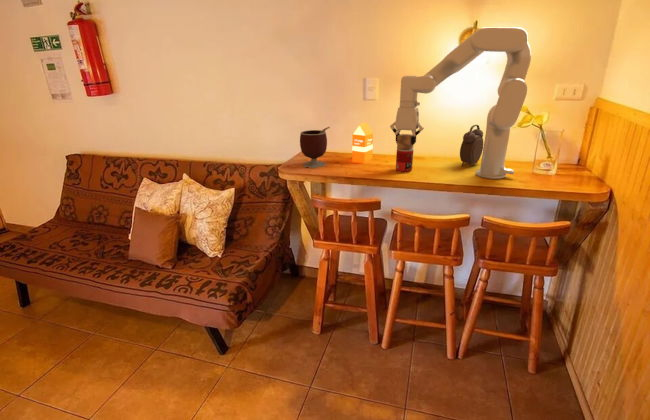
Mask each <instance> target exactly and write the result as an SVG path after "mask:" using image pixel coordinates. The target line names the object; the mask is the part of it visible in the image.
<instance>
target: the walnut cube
mask: <svg viewBox="0 0 650 420" xmlns="http://www.w3.org/2000/svg"><path fill="white" fill-rule="evenodd" d="M412 136H413V134H410V133H406V134H405V133H401V134H400V135H398V136H397V143H396V150H397V149H411V148H413V149H414V145H411V142H412Z"/></svg>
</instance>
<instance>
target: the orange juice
mask: <svg viewBox="0 0 650 420" xmlns="http://www.w3.org/2000/svg"><path fill="white" fill-rule="evenodd" d="M373 141H374V132H373V130H372V129H371V126H370V125H369V123H368V122H367V121H366V122H363V123H359V124H358V126H357V128H356V129H355V130H354V132H353V133H352V144H351V145H352V147H351V148H352V149H351V150H352V151H351V152H352V153H351V154H352V157H351V158H352V160H351V162H354V163H360V164H366V163H368V162H370V161H372V160H373V147H374V145H373Z"/></svg>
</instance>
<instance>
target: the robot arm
mask: <svg viewBox="0 0 650 420" xmlns="http://www.w3.org/2000/svg"><path fill="white" fill-rule="evenodd" d="M528 39H529V35H528V31H526V30H525V29H524V28H522V27H519V26H518V27H517V26H516V27H513V26H512V27H511V26H510V27H497V26H496V27H495V26H494V27H489V26H488V27H487V26H486V27H485V26H484V27H480V28H478V29H477V30H476V31H474V32H473V33H472V34H470V35H469V36H468V37H467V38H466V39H465V40H463V41H462V42H461V43H460V44H459V45H458V46H456V47H455V48H454V49H453V50H451V51H450V52H449V53H448V54H447V55H445V57H444V58H443V59H442V60H441V61H440V62H438V63H437V64H436V65H435V66H434V67H433V68H431V69H430V70H429V71H428V72H426V73H425V74H424V75H422V76H417V75H404V76H402V77H401V78H400V79H401V80H400V91H399V93H400V94H399V95H400V96H399V107H398V108H397V111H396V117H395V121H394V122H393V123H391V125H390V126H389V127H390V129H391V130H392V132H393V133H394V135H395V142H396V144H397V136H398V135H401V134H400V133H401V131H411V133H412V135H413V136H412V142H411V145H413V146H414V145H415V144H416V143H417V136H418V135H419V134H420V133H421V132H422V131H423V130H424V128H425V127H424V126H423V125H422V124H421V123H420V113H419V106H420V104H421V103H420V102H419V101H418V93H419V94H430V93H432V92H434V90H435V89H436V87H438V86H439V85H440V84H442V83H443V82H444V81H446V80H447V79H448V78H450V77H451V76H453V75H454V74H456V73H458V72H460V71H461V70H463V69H464V68H465V67H466V66H467V65H469V64H470V63H472V61H474V60H475V59H476V58H478V57H480V56H481V54H483V53H484V52H491V53H492V52H493V53H495V52H497V53H503V52H505V54H506V57H507V58H506V59H507V60H506V65H505V68H504V71H503V74H502V77H501V78H500V79H501V80H500V82H499V85H498V87H497V95H498V97H497V101H496V104H495V105H493V106H492V107H491V108H490V109H489V110H488V113H487V117H486V128H485V136H484V140H483V151H482V154H481V163H480V169H477V170H476V172H475V175H476V176H478V177H480V178H483V179H484V178H485V179H489V180H490V179H492V180H493V179H494V180H499V179H500V180H501V179H504V178H506V176H507V174H508V175H514V173H515V169H512V168H507V167H506V165H505V162H506V155H507V151H508V150H507V149H508V144H509V139H510V134H511V133H510V132H511V128H512V127H513V126H514V125H516V122H517V120H518V119H519V117H520V113H521V111H522V108H523V105H524V102H525V99H526V97H527V94H528V86H527V82H525V80H526V78H527V74H528V71H529V68H530V65H531V62H532V61H531V60H532V50H531V46H530V44H529V42H528V41H529V40H528ZM417 106H418V107H417Z"/></svg>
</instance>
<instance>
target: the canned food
mask: <svg viewBox="0 0 650 420" xmlns="http://www.w3.org/2000/svg"><path fill="white" fill-rule="evenodd" d="M395 157H396V159H395V171H397V172H399V173H411V172H412V170H413V162H414V147H413V148H411V149H397V148H396V156H395Z"/></svg>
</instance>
